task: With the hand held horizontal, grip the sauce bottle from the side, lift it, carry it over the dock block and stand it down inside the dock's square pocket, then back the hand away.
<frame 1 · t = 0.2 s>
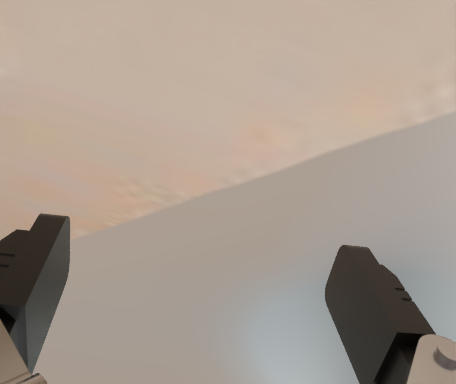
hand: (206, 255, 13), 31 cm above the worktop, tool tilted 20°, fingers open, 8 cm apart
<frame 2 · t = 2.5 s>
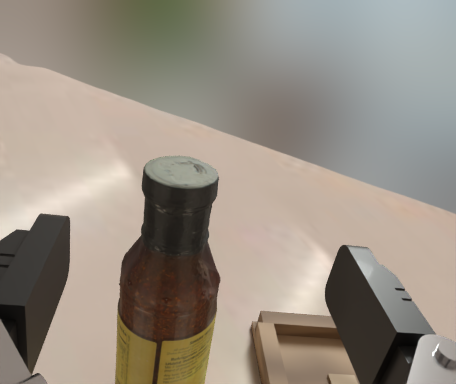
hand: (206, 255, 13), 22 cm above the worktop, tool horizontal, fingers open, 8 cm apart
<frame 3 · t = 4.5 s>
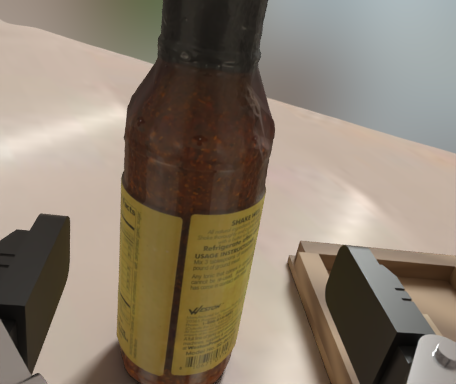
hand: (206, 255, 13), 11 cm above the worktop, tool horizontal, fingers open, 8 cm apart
dock: (414, 336, 27), on the worktop
sauce bottle: (170, 353, 23), on the worktop
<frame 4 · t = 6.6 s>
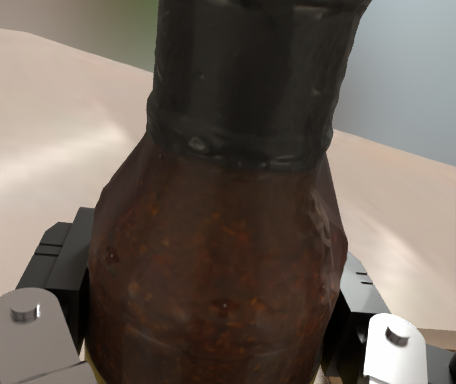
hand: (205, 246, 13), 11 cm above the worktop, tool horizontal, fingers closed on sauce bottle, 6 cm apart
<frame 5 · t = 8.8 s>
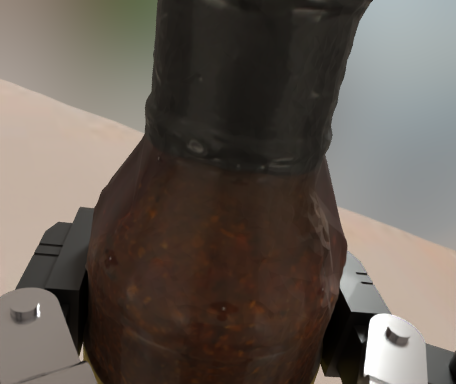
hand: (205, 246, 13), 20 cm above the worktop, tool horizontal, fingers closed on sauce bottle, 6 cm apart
when the fingers open (12 cm above the worktop, at t = 11.3 s): sauce bottle stays where it is, resting on dock.
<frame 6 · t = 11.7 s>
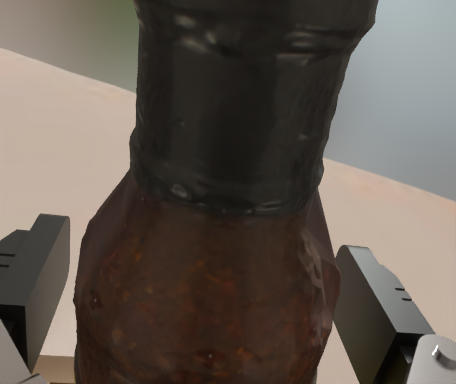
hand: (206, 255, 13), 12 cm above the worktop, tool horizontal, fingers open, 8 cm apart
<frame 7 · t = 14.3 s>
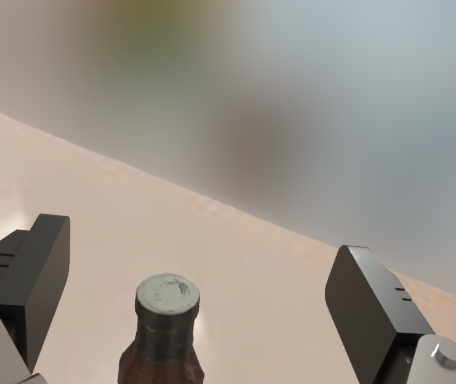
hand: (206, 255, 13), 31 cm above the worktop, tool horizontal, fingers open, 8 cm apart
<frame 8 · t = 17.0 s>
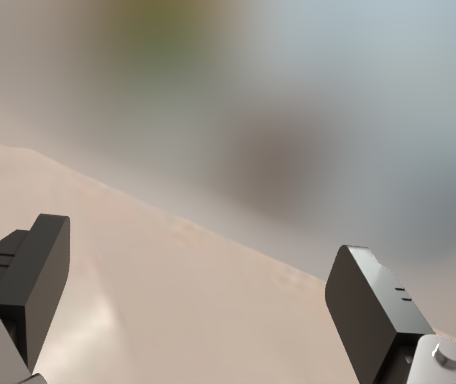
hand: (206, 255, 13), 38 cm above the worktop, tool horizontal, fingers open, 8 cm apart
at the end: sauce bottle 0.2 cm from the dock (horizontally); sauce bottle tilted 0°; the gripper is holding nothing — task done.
